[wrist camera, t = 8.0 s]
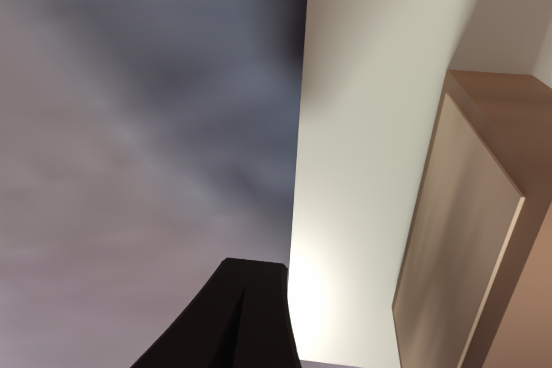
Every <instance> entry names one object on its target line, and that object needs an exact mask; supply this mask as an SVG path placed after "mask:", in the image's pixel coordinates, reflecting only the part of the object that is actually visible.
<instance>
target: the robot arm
mask: <svg viewBox="0 0 552 368" xmlns="http://www.w3.org/2000/svg"><path fill="white" fill-rule="evenodd" d="M287 273H288V268H287V267H286V266H285V265H284V264H282V263H273V262H264V261H255V260H245V259H236V258H226V259H225V260H223V261H222V262H221V264H220V265H219V267H218V268H217V269H216V271H215V272H214V273H213V275H212V276H211V277H210V279H209V280H208V281H207V283H206V284H205V285H204V286H203V288H202V289H201V290H200V291H199V293H198V294H197V295H196V296H195V298H194V299H193V300H192V301H191V302H190V304H189V305H188V306H187V307H186V308H185V309H184V310H183V312H182V313H181V314H180V315H179V316H178V317H177V318H176V320H175V321H174V322H173V323H172V324H171V325H170V326H169V328H168V329H167V330H166V331H165V332H164V333H163V334H162V335H161V336H160V337H159V338H158V339H157V340H156V341H155V342H154V343H153V345H152V346H151V347H150V348H149V349H148V350H147V351H146V352H145V353H144V354H143V355H142V356H141V357H140V358H139V359H138V360H137V361H136V362H135V363H134V364H133V365H132V366H131V367H130V368H302V367H301V363H300V359H299V356H298V352H297V347H296V342H295V338H294V333H293V329H292V324H291V318H290V312H289V305H288V296H287Z"/></svg>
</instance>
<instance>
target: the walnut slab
mask: <svg viewBox="0 0 552 368" xmlns="http://www.w3.org/2000/svg"><path fill="white" fill-rule="evenodd" d="M391 307H392V314H393V321H394V327H395V334H396V341H397V347H398V354H399V361H400V367H401V368H552V88H550V87H549V86H547V85H546V84H544V83H543V82H541V81H540V80H539V79H537V78H536V77H534V76H533V75H522V74H507V73H492V72H477V71H462V70H447V71H446V75H445V79H444V84H443V88H442V92H441V96H440V101H439V105H438V109H437V114H436V118H435V122H434V126H433V131H432V135H431V139H430V144H429V148H428V152H427V156H426V161H425V165H424V169H423V174H422V178H421V182H420V186H419V191H418V195H417V199H416V204H415V208H414V212H413V216H412V221H411V225H410V229H409V234H408V238H407V242H406V246H405V251H404V255H403V259H402V264H401V268H400V272H399V276H398V281H397V285H396V289H395V294H394V298H393V302H392V306H391Z"/></svg>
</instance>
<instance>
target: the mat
mask: <svg viewBox="0 0 552 368" xmlns="http://www.w3.org/2000/svg"><path fill="white" fill-rule="evenodd" d="M447 70H462V71H477V72H492V73H507V74H522V75H533V76H534V77H536V78H537V79H539V80H540V81H541V82H543V83H544V84H546V85H547V86H549V87H550V88H552V0H307V14H306V29H305V44H304V59H303V74H302V89H301V104H300V119H299V134H298V149H297V164H296V179H295V194H294V209H293V224H292V239H291V254H290V270H289V285H288V305H289V312H290V318H291V324H292V329H293V333H294V338H295V342H296V347H297V352H298V356H299V359H301V360H308V361H316V362H324V363H332V364H340V365H348V366H355V367H363V368H401V367H400V361H399V354H398V347H397V341H396V334H395V327H394V321H393V314H392V307H391V306H392V302H393V298H394V294H395V289H396V285H397V281H398V276H399V272H400V268H401V264H402V259H403V255H404V251H405V246H406V242H407V238H408V234H409V229H410V225H411V221H412V216H413V212H414V208H415V204H416V199H417V195H418V191H419V186H420V182H421V178H422V174H423V169H424V165H425V161H426V156H427V152H428V148H429V144H430V139H431V135H432V131H433V126H434V122H435V118H436V114H437V109H438V105H439V101H440V96H441V92H442V88H443V84H444V79H445V75H446V71H447Z"/></svg>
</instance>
